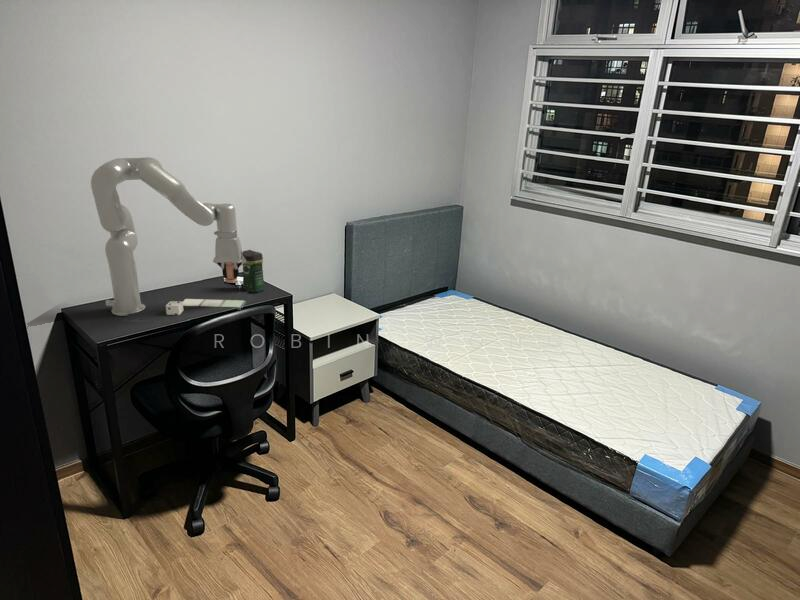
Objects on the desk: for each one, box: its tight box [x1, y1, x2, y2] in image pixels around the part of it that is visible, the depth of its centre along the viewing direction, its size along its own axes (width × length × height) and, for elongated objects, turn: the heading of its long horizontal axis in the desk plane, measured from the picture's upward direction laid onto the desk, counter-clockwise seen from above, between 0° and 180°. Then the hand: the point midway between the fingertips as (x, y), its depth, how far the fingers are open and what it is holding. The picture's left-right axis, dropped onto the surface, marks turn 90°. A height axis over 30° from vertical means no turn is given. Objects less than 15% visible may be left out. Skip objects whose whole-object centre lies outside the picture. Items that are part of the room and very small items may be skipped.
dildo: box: [224, 263, 238, 284], centre depth 233 cm, size 5×5×11 cm
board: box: [183, 298, 247, 311], centre depth 238 cm, size 26×9×1 cm, turn 91°
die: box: [165, 300, 185, 316], centre depth 226 cm, size 5×5×5 cm
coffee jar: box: [241, 249, 265, 294], centre depth 255 cm, size 10×8×19 cm
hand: (231, 277), depth 234 cm, fingers closed on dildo, 3 cm apart
